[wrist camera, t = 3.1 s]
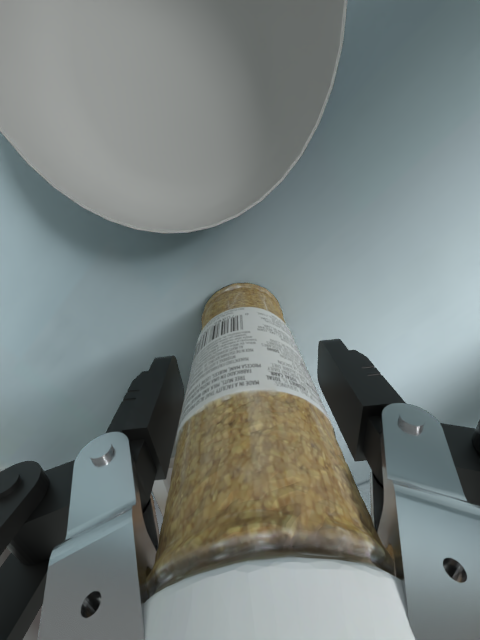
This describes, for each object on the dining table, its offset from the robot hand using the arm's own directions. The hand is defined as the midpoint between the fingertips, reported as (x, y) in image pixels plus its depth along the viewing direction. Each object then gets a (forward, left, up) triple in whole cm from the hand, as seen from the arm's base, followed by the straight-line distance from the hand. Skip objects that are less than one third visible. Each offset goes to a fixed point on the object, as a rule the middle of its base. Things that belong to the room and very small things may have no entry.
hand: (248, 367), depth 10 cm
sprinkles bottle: (0, 0, -5) cm, 5 cm away
